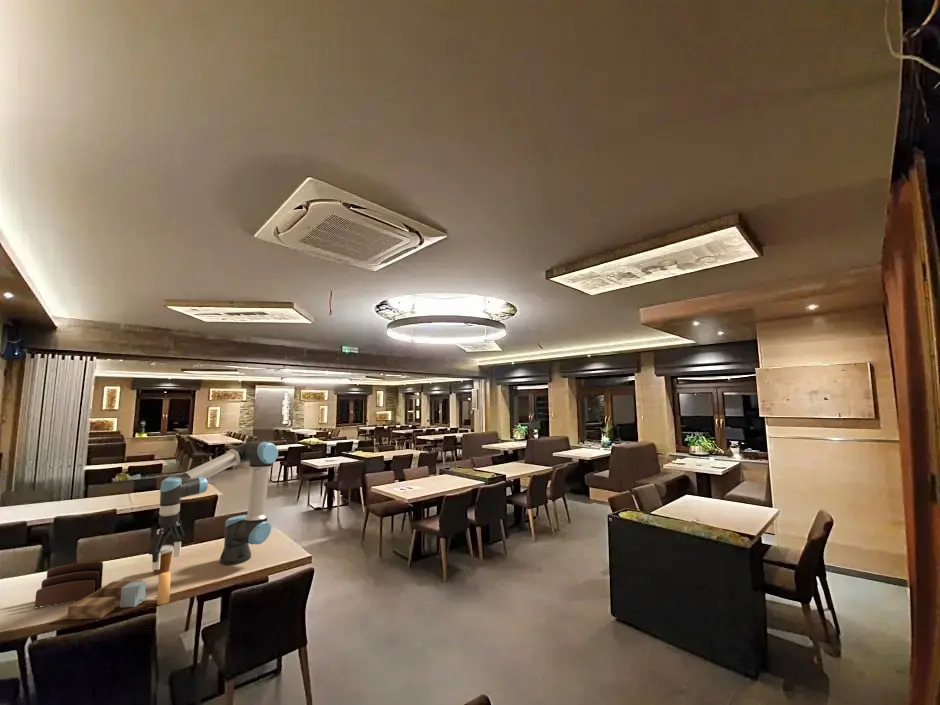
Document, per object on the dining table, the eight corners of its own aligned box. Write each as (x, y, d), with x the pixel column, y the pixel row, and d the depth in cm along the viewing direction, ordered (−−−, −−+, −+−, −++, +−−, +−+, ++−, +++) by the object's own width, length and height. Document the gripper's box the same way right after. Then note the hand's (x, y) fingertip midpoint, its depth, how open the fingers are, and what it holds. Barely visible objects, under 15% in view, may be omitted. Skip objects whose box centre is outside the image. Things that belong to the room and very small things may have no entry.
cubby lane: (142, 591, 190) (142, 580, 190) (101, 618, 167) (102, 605, 168) (112, 592, 189) (113, 581, 190) (67, 619, 167) (68, 606, 167)
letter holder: (45, 599, 184) (48, 566, 186) (101, 589, 193) (104, 558, 194) (33, 609, 175) (37, 575, 177) (93, 598, 184) (96, 566, 186)
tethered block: (172, 598, 183) (174, 570, 184) (163, 605, 177) (165, 576, 178) (131, 600, 182) (132, 572, 183) (120, 607, 176) (122, 578, 177)
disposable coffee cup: (160, 576, 206) (161, 551, 207) (144, 575, 207) (146, 550, 209) (177, 568, 215) (178, 545, 216) (162, 567, 217) (163, 544, 218)
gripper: (179, 506, 196) (176, 552, 194) (140, 522, 171) (136, 575, 169) (195, 505, 196) (192, 551, 194) (158, 522, 171) (155, 574, 169)
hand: (166, 562), depth 182 cm, fingers open, 13 cm apart
